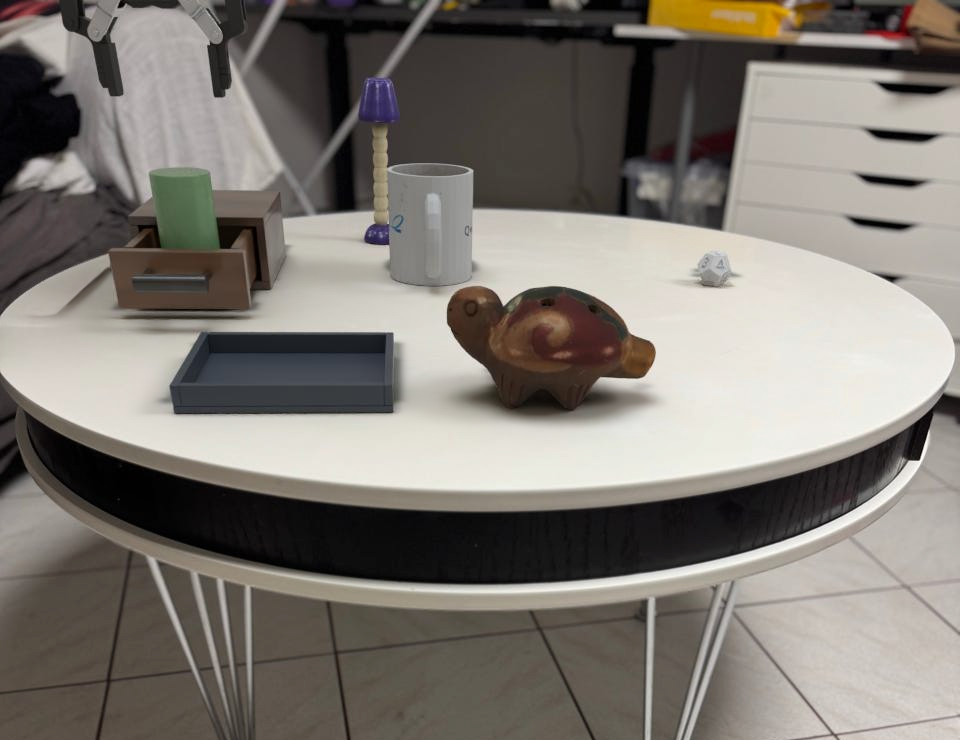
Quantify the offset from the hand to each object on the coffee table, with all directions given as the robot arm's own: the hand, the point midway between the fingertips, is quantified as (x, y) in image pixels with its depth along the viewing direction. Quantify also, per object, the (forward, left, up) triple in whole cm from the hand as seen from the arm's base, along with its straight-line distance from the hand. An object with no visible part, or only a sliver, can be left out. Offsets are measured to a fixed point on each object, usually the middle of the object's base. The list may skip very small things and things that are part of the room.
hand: (168, 96), depth 76 cm
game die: (+52, +7, -17) cm, 55 cm away
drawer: (0, -2, -16) cm, 16 cm away
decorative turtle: (+30, -26, -17) cm, 43 cm away
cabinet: (0, +11, -17) cm, 20 cm away
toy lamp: (+17, +26, -17) cm, 36 cm away
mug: (+22, +8, -17) cm, 29 cm away
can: (0, 0, -15) cm, 15 cm away
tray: (+11, -23, -17) cm, 30 cm away
